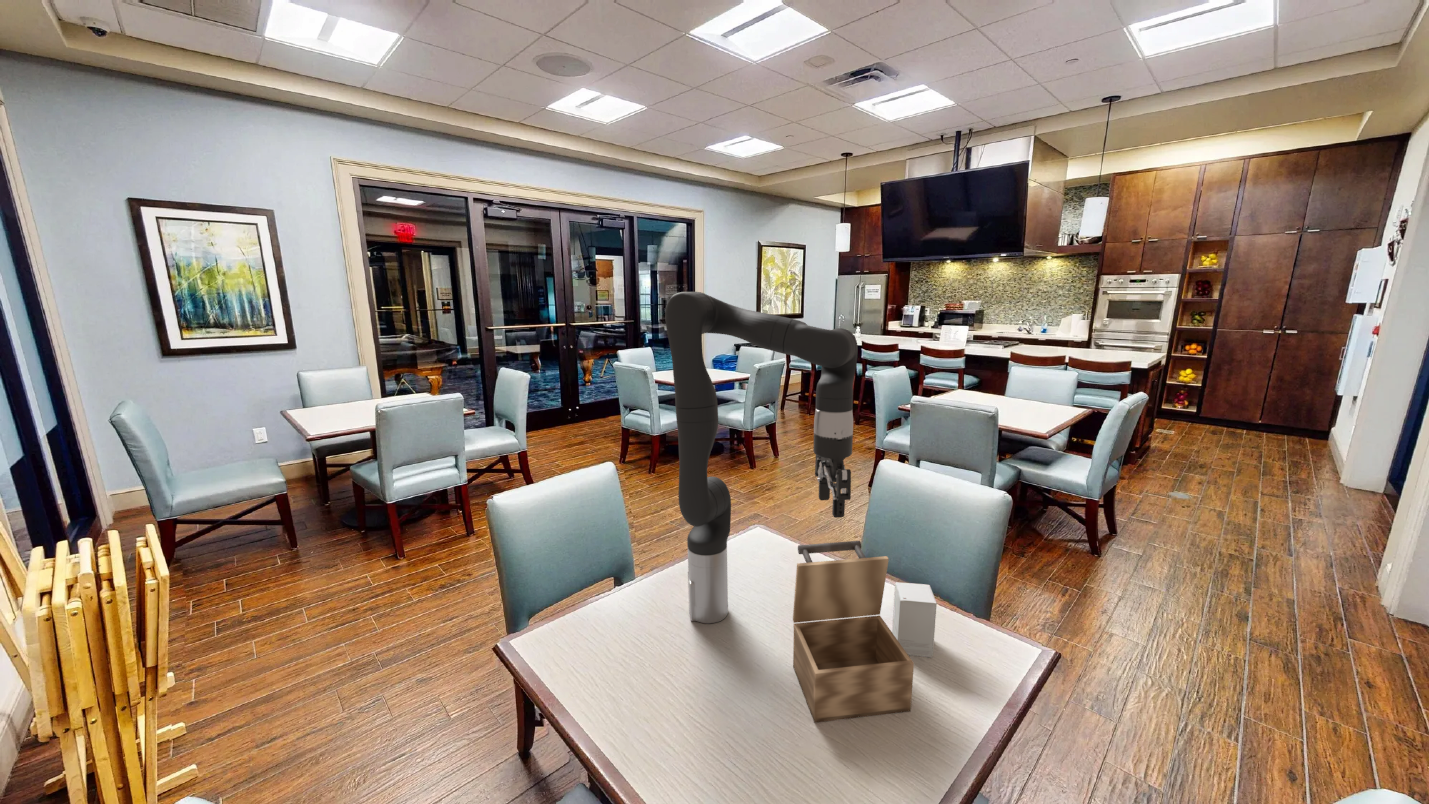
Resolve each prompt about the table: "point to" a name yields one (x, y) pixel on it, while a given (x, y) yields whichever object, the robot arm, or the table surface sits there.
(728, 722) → the table surface
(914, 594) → the supplement box
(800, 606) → the wooden box lid
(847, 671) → the wooden box
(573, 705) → the table surface
